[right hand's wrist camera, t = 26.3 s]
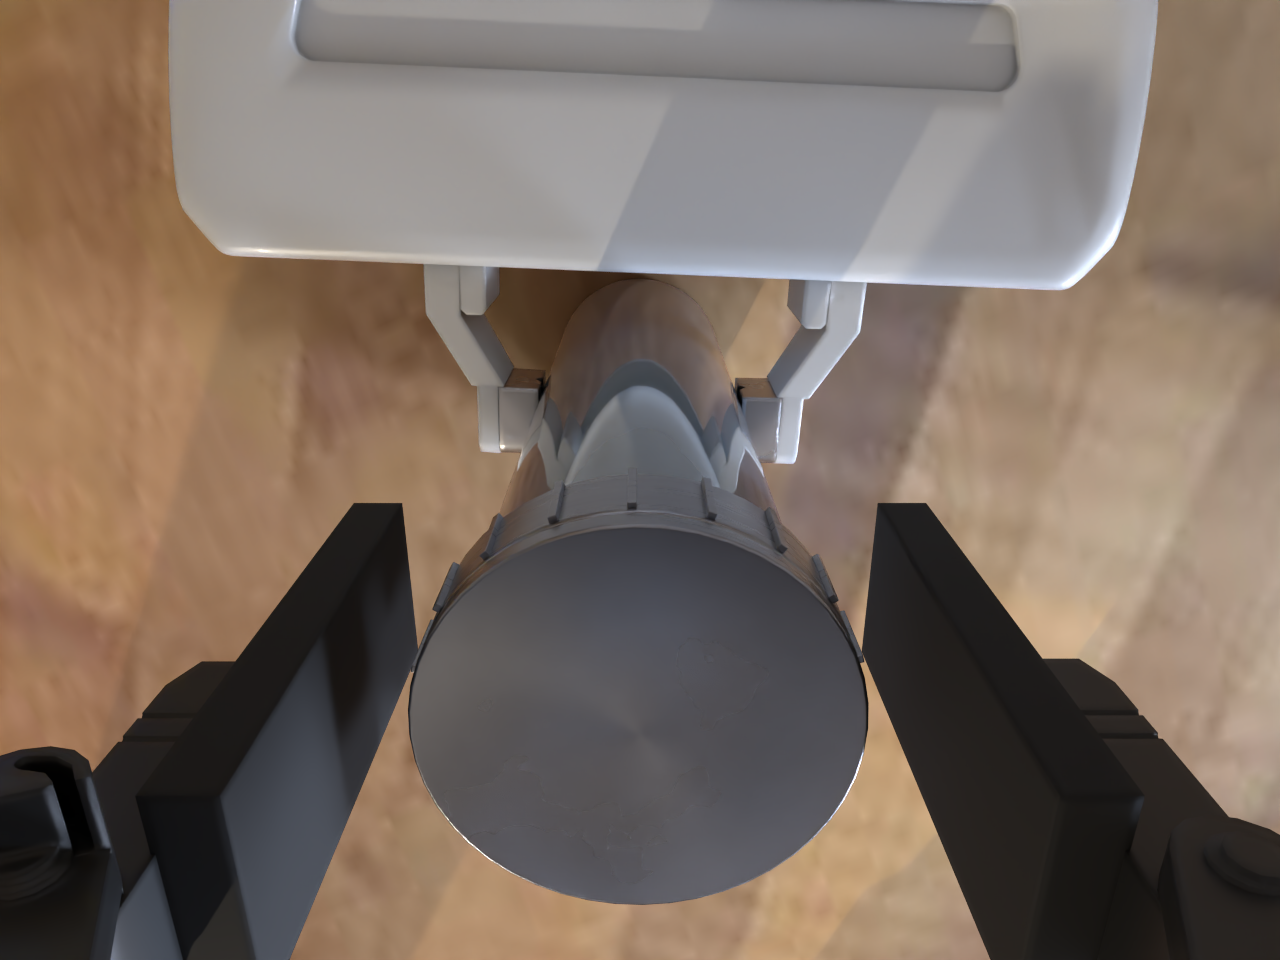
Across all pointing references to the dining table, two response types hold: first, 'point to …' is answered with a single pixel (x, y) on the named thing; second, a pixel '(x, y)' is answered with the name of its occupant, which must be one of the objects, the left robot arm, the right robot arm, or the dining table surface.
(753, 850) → the lid
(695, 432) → the grey cylinder
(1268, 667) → the dining table surface
